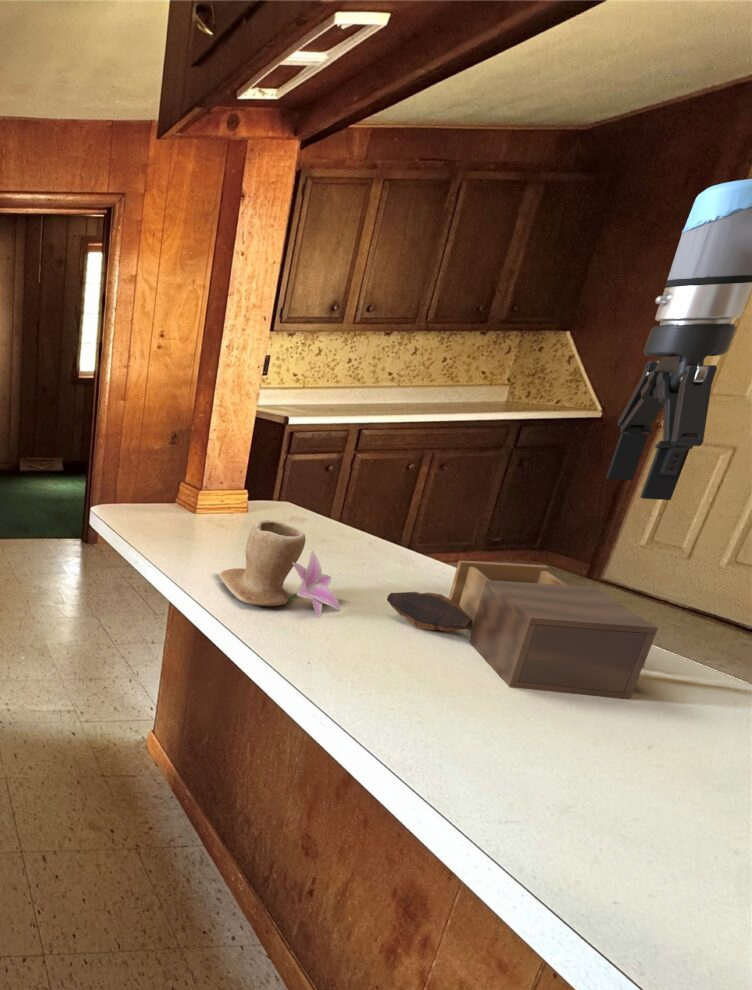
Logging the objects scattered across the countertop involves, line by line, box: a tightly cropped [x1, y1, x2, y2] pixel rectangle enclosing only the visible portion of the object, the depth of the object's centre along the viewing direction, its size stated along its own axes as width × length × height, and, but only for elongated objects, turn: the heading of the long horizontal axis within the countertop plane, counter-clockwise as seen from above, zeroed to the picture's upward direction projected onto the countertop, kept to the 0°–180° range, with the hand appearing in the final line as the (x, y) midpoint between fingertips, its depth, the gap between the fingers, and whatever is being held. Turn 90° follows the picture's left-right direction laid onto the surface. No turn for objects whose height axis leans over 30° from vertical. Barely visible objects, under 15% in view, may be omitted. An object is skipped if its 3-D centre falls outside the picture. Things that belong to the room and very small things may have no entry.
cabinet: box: [468, 580, 659, 700], centre depth 98 cm, size 16×14×11 cm
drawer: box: [448, 559, 567, 627], centre depth 112 cm, size 20×13×9 cm, turn 162°
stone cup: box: [218, 519, 306, 607], centre depth 127 cm, size 15×12×15 cm
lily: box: [288, 550, 342, 618], centre depth 123 cm, size 12×12×10 cm
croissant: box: [386, 591, 473, 632], centre depth 113 cm, size 14×7×5 cm
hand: (635, 488), depth 91 cm, fingers open, 13 cm apart
